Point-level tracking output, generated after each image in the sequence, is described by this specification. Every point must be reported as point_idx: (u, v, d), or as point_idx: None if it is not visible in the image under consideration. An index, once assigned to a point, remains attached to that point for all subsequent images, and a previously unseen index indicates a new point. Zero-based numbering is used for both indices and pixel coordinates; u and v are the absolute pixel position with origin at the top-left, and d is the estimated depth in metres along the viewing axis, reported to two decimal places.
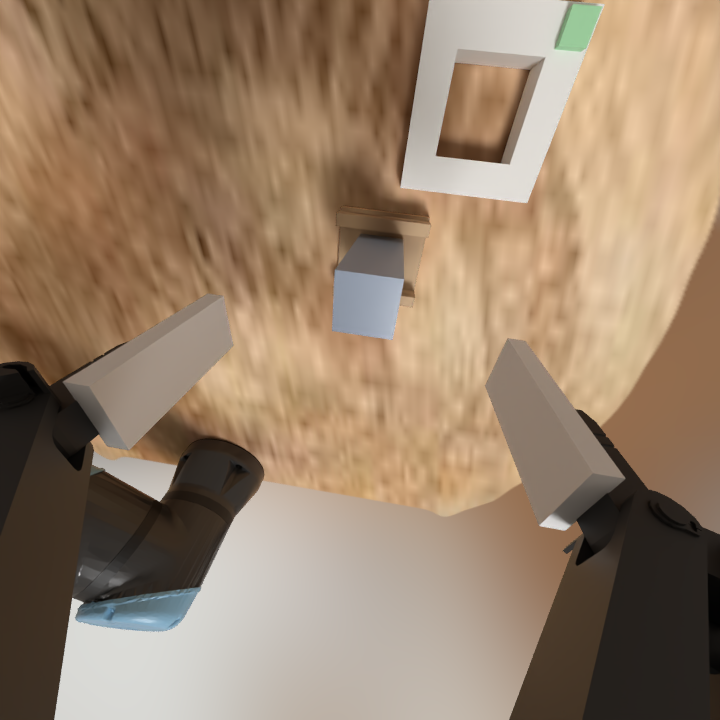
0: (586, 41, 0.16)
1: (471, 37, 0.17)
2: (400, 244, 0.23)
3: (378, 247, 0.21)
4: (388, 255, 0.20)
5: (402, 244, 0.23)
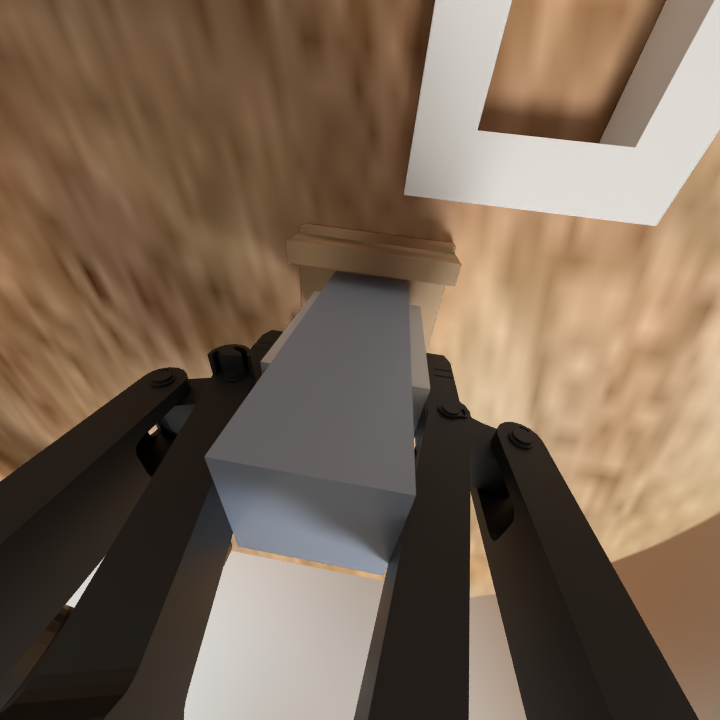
0: None
1: None
2: (403, 298, 0.13)
3: (360, 313, 0.11)
4: (377, 343, 0.09)
5: (407, 298, 0.13)
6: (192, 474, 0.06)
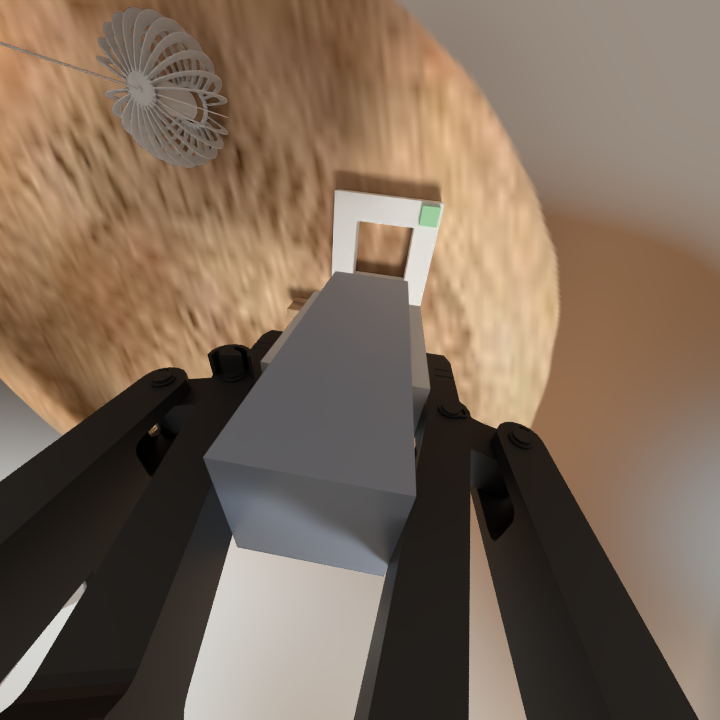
0: (435, 224, 0.25)
1: (364, 215, 0.26)
2: (403, 298, 0.13)
3: (360, 313, 0.11)
4: (377, 343, 0.09)
5: (407, 298, 0.13)
6: (192, 474, 0.06)
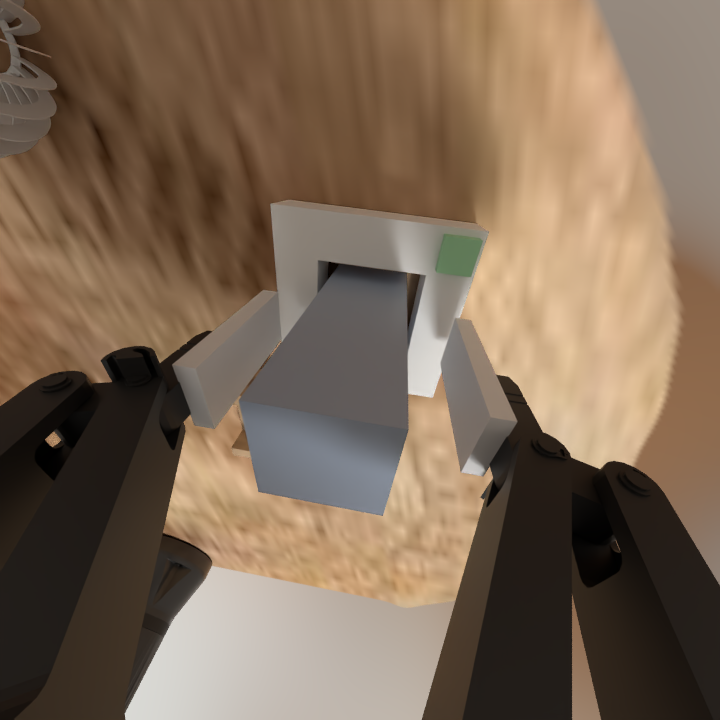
0: (469, 271, 0.12)
1: (331, 251, 0.13)
2: (402, 287, 0.14)
3: (362, 298, 0.12)
4: (378, 323, 0.10)
5: (405, 287, 0.14)
6: (96, 483, 0.05)
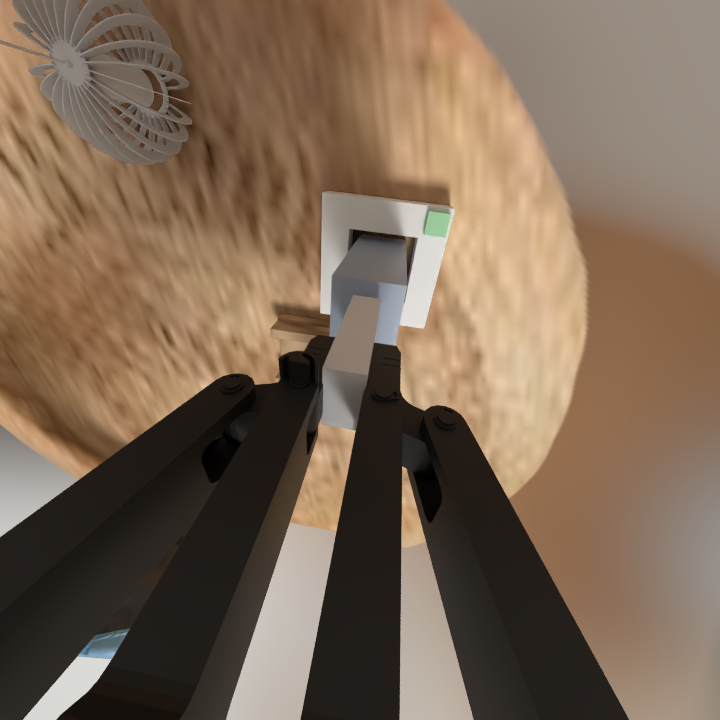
0: (444, 233, 0.20)
1: (358, 222, 0.21)
2: (402, 246, 0.22)
3: (379, 249, 0.20)
4: (390, 258, 0.18)
5: (405, 246, 0.22)
6: (257, 481, 0.06)
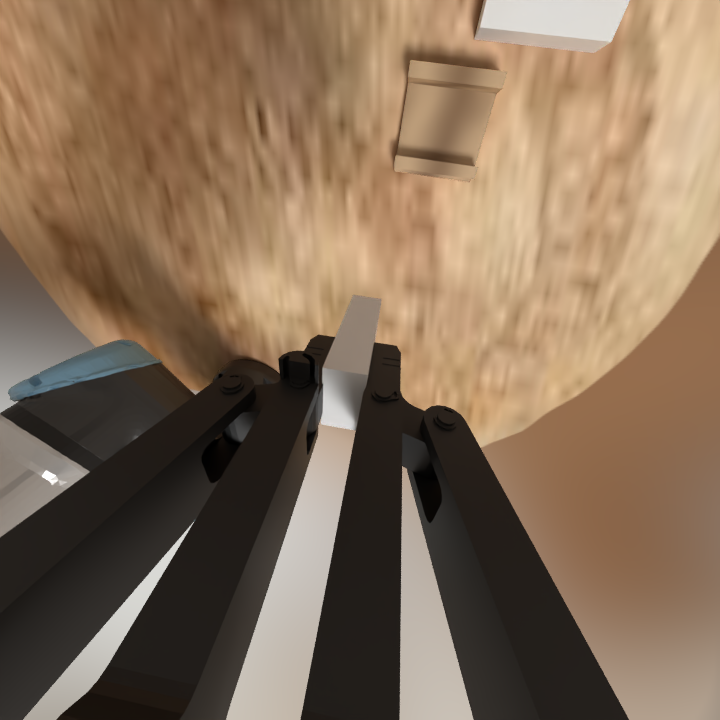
0: None
1: None
2: None
3: None
4: None
5: None
6: (257, 481, 0.06)
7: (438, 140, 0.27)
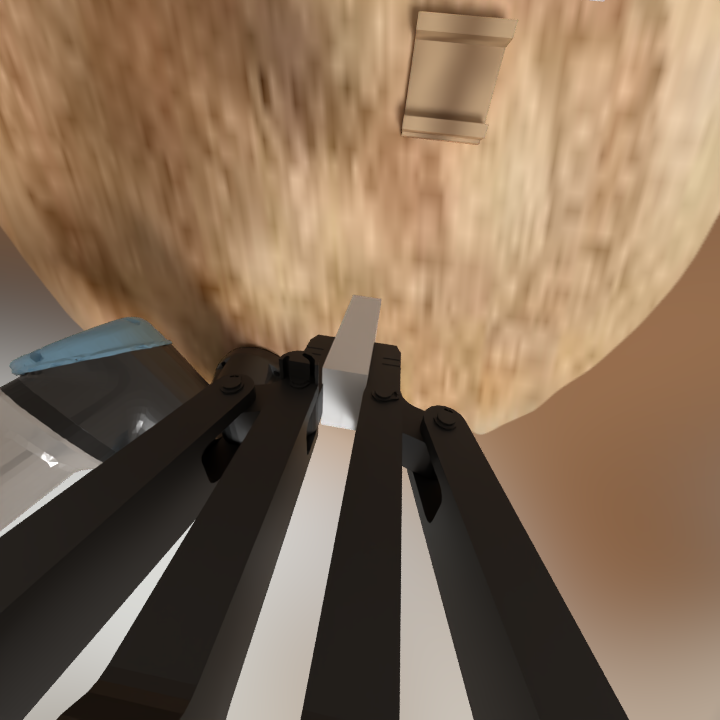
0: None
1: None
2: None
3: None
4: None
5: None
6: (257, 481, 0.06)
7: (446, 100, 0.26)
